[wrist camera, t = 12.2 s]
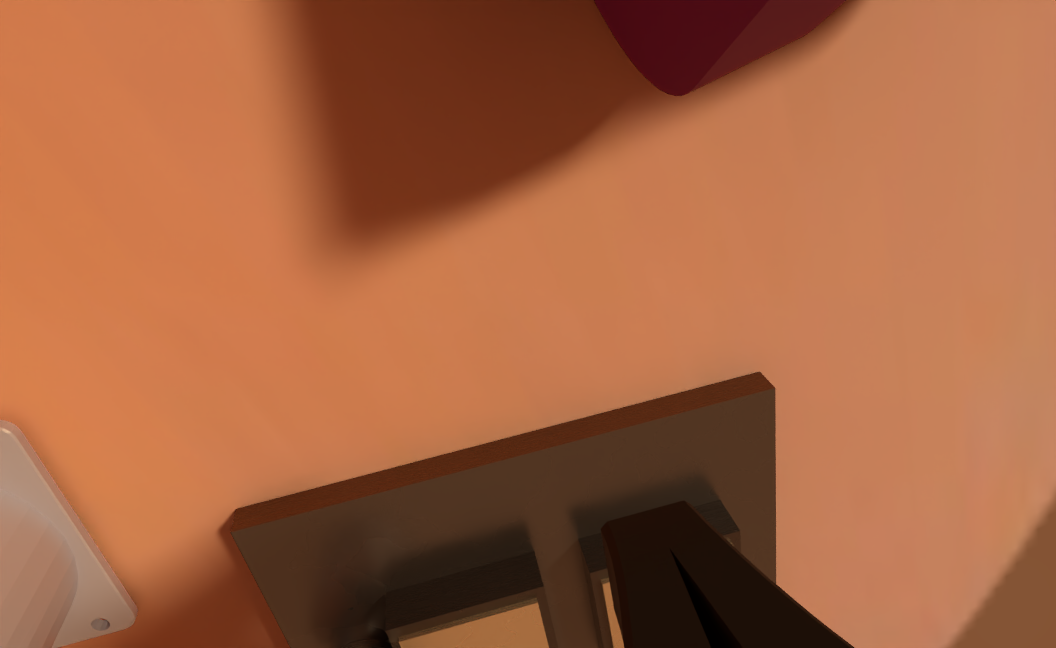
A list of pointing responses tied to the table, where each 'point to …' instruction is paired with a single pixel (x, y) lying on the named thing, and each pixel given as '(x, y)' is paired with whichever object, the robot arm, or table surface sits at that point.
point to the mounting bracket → (706, 35)
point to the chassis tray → (511, 527)
